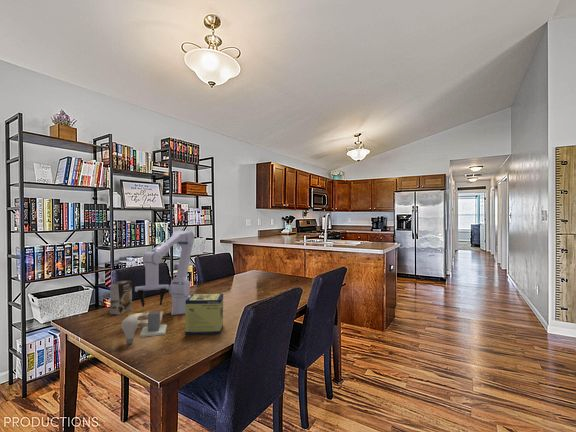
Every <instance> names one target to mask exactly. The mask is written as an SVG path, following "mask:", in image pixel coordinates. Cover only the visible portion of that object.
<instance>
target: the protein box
mask: <svg viewBox="0 0 576 432" xmlns="http://www.w3.org/2000/svg"><path fill="white" fill-rule="evenodd" d="M189 295H190V296H189V298H188V299H187V300H186V304H185V314H184V315H185V323H184V326H185V327H184V335H185V336H196V335H197V336H202V335H203V336H205V335H209V334H214V335H220V334H221V332H222V329H223V327H224V293H199V294H198V293H192V294H189Z"/></svg>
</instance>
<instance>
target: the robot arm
mask: <svg viewBox="0 0 576 432" xmlns="http://www.w3.org/2000/svg"><path fill="white" fill-rule="evenodd" d="M171 234H172V235H171V236H170V237H169V238H168V239H167V240H166V241H165V242H159V243H157V245H156V246H155V247H154V248H152V249H151V250H150V251H146V252H145V253H144V254H143V256H142V262H143V266H144V268H145V271H144V272H145V274H144V275H145V285H139V286H138V285H137V286H134V292H136V293H137V296H138V297H139V300H140V303H141V306H142V308H143V307H145V291H154V290H155V291H159V290H160V291H159V295H160V296H159V297H160V299H159V305H160V306H162V305H163V299H164V296H165V293H166V292H167V290H168V293H169V294H170V297H172V298H171V301H172V305H171V306H172V309H171V314H170V315H171V316H175V315H185V304H186V300H187V299H188V298H189V296H190V295H191V294H190V291H191V281H190V280H189V279H188V278H187V276H188V273H189V272H188V271H189V265H190V259H191V255H192V249H193V246H194V242H195V237H196V236H195V234H194V232H193V231H192V230H179V229H178V230H175V231H174V232H172V233H171ZM175 245H178V246H179V247H180V248H181V249H180V255H179V261H178V265H177V272H176V276H175V277H174V278H173V279H171V282H170V284H160V283H159V278H160V277H159V275H160V274H159V271H160V269H159V267H160V265H159V264H160V263H161V261H162V259H163V257H164V256H166V254H168V253H169V252H170V248H171V247H173V246H175Z"/></svg>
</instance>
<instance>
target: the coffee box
mask: <svg viewBox="0 0 576 432" xmlns="http://www.w3.org/2000/svg"><path fill="white" fill-rule="evenodd" d="M109 286H110V293H109V295H110V296H109V297H110V299H109V300H110V301H109V305H110V306H109V314H110V315H118V316H120V315H122V314H123V315H124V314H125V313H127V312H130V311H133V304H132V303H133V293H132V292H133V281H132V280H119V281H116V282H112V283H110V285H109Z"/></svg>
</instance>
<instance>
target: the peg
mask: <svg viewBox="0 0 576 432" xmlns="http://www.w3.org/2000/svg"><path fill="white" fill-rule="evenodd" d="M160 311H161V310H153V311H148V312H149V314H148V332H149V331H159V329H160Z"/></svg>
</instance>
